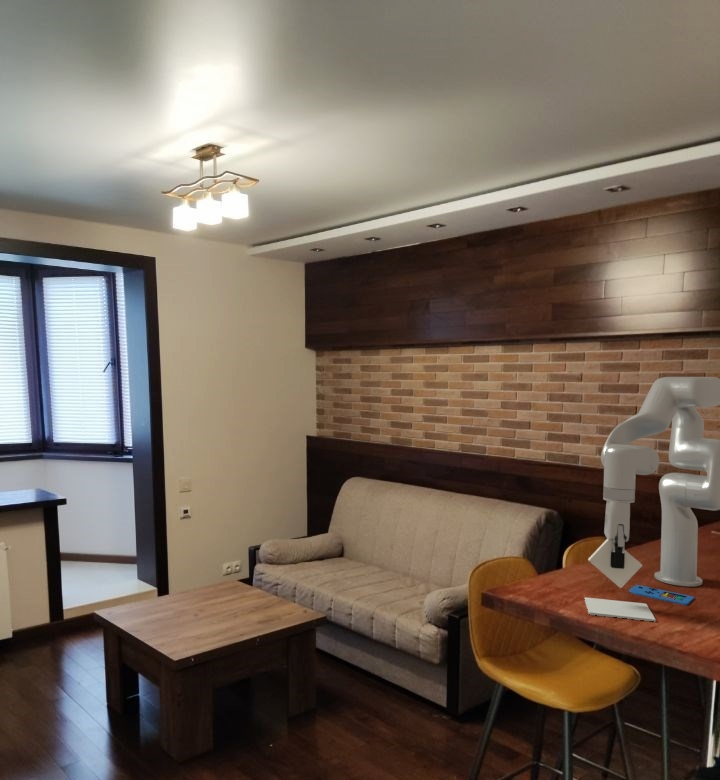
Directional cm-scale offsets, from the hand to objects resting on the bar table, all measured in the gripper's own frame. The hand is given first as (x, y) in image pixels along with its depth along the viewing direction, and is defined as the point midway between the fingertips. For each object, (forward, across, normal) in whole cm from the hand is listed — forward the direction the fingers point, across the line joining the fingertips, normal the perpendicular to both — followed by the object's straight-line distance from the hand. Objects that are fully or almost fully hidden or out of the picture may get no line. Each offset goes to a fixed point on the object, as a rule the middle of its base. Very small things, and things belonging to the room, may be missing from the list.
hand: (616, 566), depth 161 cm
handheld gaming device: (+10, -13, +13) cm, 21 cm away
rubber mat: (+10, +4, 0) cm, 11 cm away
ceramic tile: (+2, 0, -3) cm, 4 cm away
